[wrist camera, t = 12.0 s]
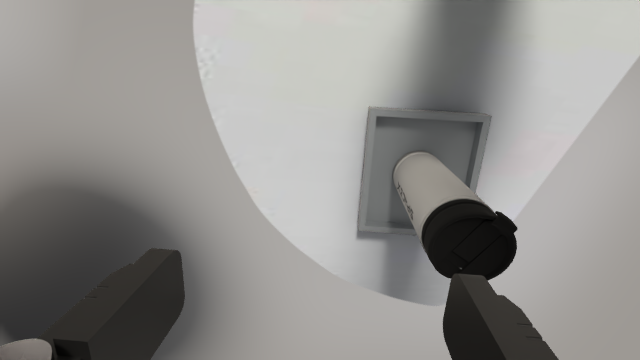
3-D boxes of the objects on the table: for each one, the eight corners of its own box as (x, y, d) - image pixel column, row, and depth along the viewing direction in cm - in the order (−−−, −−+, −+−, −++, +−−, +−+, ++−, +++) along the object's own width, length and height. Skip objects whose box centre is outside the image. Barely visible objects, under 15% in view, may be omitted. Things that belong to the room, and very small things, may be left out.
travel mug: (453, 167, 42) (543, 245, 23) (418, 205, 44) (475, 305, 25) (416, 137, 42) (477, 194, 23) (382, 177, 43) (412, 261, 25)
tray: (369, 106, 41) (370, 108, 39) (484, 113, 41) (491, 115, 39) (357, 223, 46) (358, 230, 44) (459, 231, 46) (465, 238, 44)
